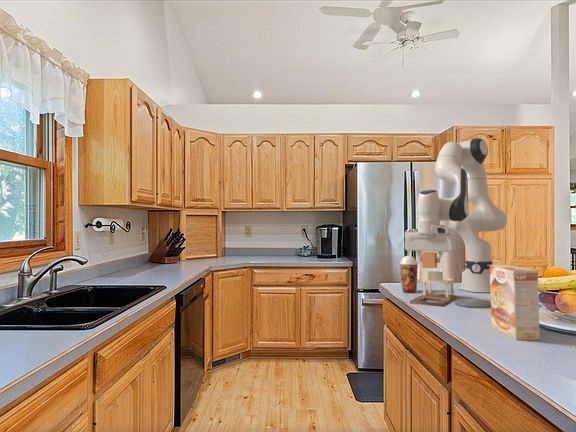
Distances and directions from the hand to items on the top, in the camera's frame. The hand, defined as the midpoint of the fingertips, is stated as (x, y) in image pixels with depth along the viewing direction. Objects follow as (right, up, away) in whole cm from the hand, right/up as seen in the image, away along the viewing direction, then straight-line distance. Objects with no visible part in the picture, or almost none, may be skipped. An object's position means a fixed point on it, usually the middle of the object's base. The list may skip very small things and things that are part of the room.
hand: (429, 262), depth 170 cm
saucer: (+15, -16, -7) cm, 23 cm away
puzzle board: (+3, -17, +4) cm, 17 cm away
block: (0, -2, 0) cm, 2 cm away
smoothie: (-1, -17, +25) cm, 31 cm away
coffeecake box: (+8, -16, -49) cm, 52 cm away
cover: (+7, -15, +9) cm, 19 cm away
